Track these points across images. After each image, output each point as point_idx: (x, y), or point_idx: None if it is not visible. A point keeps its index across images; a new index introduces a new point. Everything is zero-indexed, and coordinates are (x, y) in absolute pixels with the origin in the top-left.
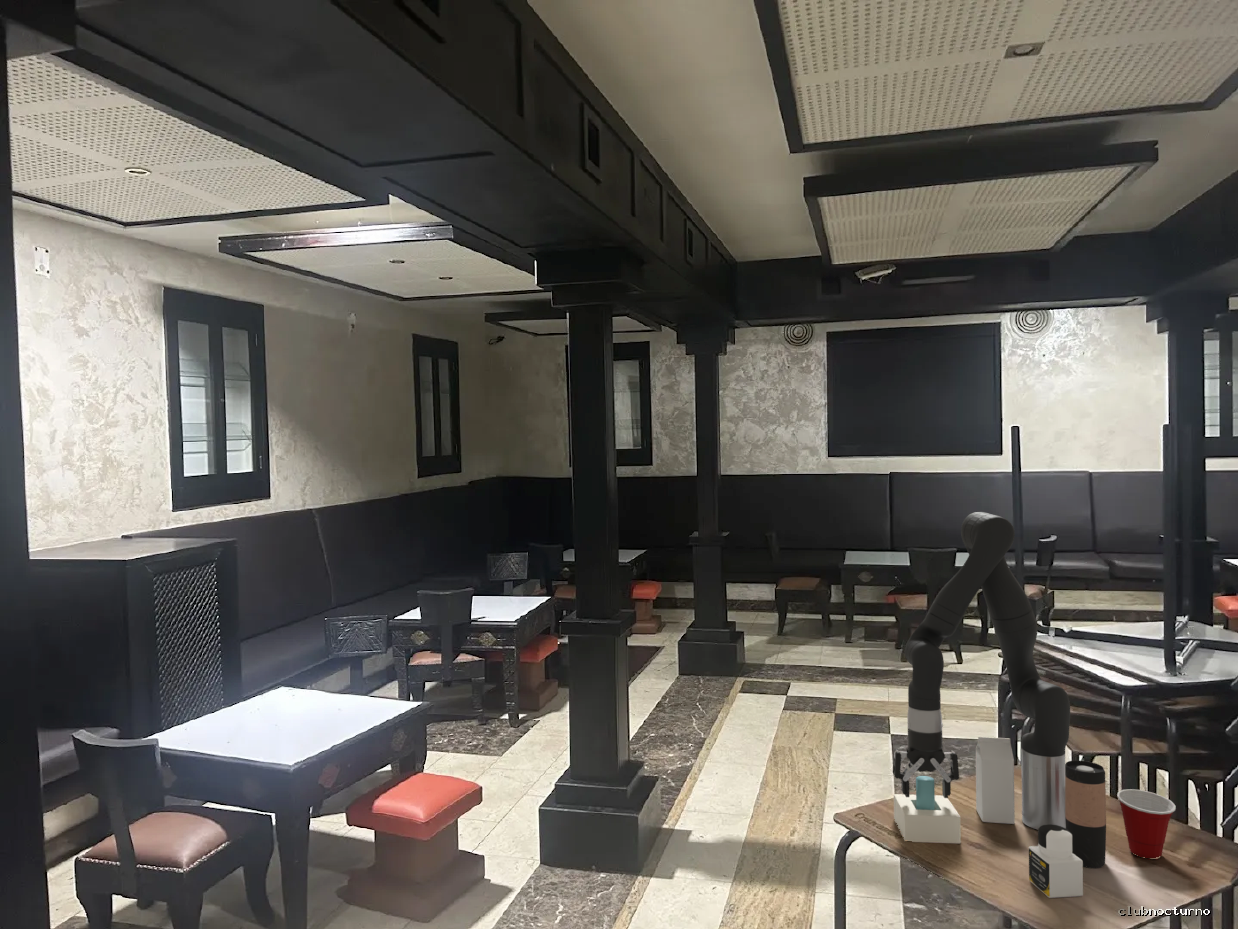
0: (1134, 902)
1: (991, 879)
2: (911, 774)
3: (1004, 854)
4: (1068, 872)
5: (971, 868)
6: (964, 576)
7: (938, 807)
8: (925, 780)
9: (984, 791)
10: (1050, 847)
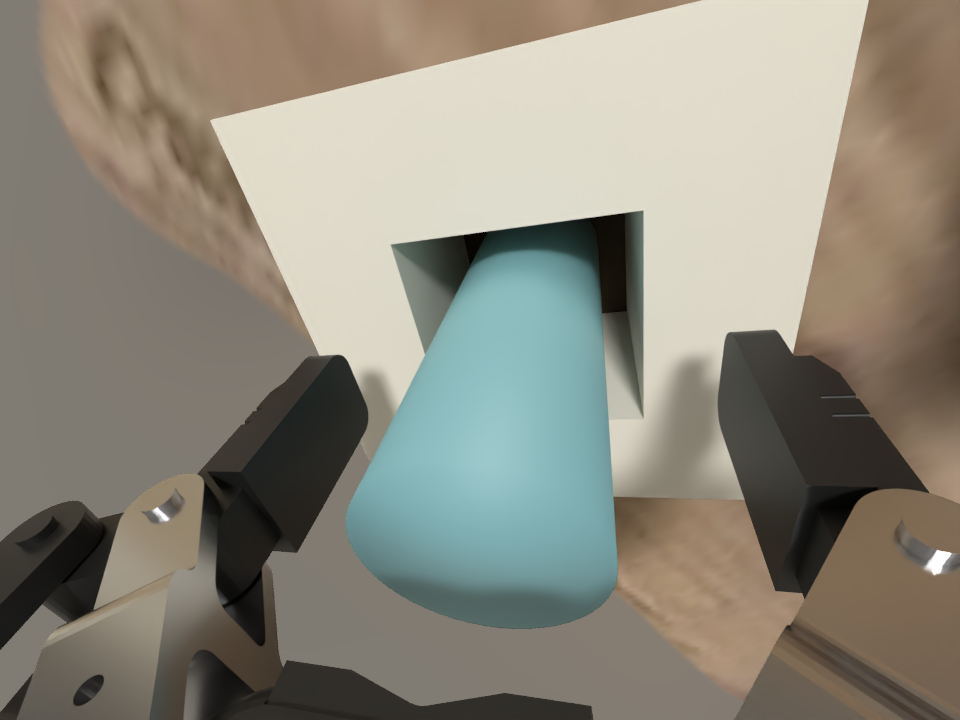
0: None
1: (721, 597)
2: (267, 665)
3: (920, 454)
4: None
5: (675, 548)
6: None
7: (641, 319)
8: (478, 590)
9: None
10: None
